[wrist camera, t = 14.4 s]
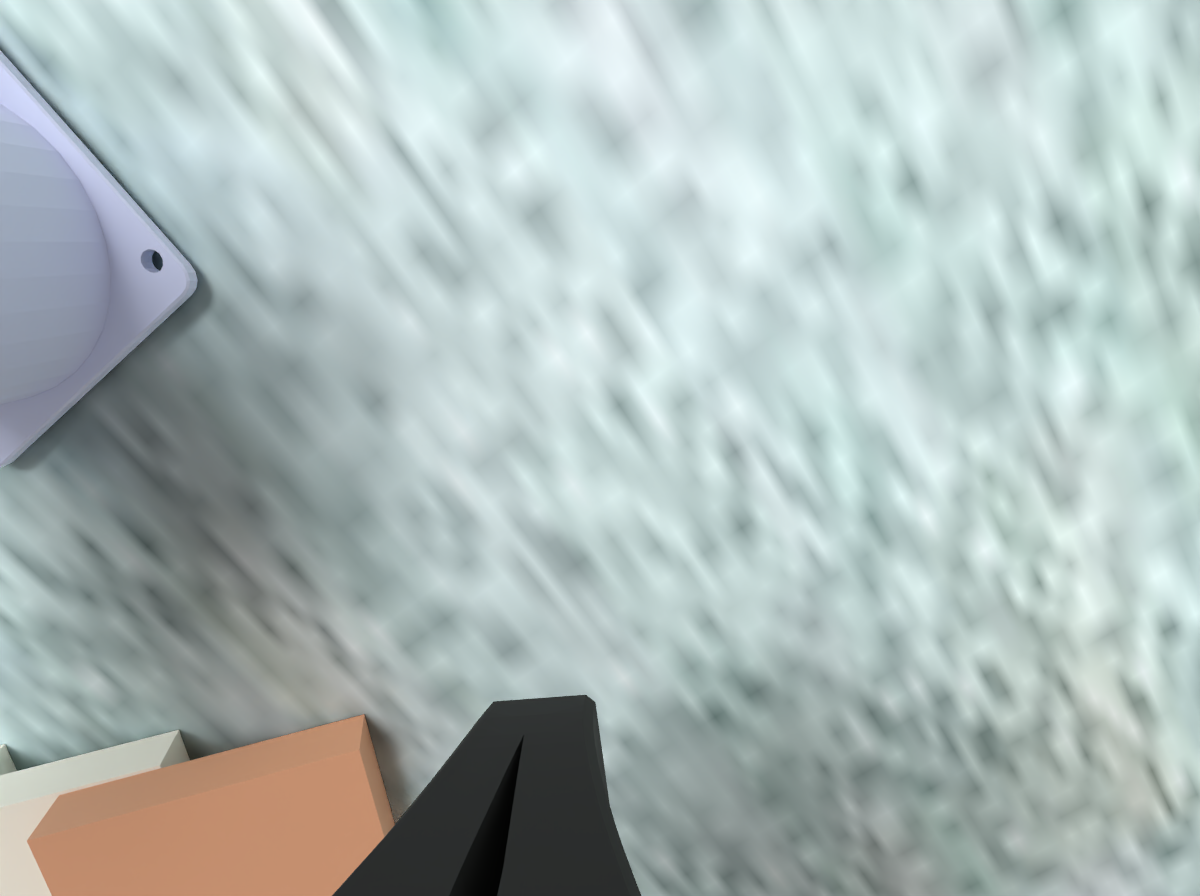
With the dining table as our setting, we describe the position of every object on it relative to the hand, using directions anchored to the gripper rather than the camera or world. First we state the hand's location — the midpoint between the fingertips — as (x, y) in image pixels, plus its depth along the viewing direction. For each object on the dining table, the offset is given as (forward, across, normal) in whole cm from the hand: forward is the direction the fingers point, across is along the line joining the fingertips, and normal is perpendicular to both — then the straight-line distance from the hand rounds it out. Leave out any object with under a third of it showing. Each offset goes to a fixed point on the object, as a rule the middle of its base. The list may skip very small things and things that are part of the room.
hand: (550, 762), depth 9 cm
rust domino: (+9, +7, +8) cm, 14 cm away
